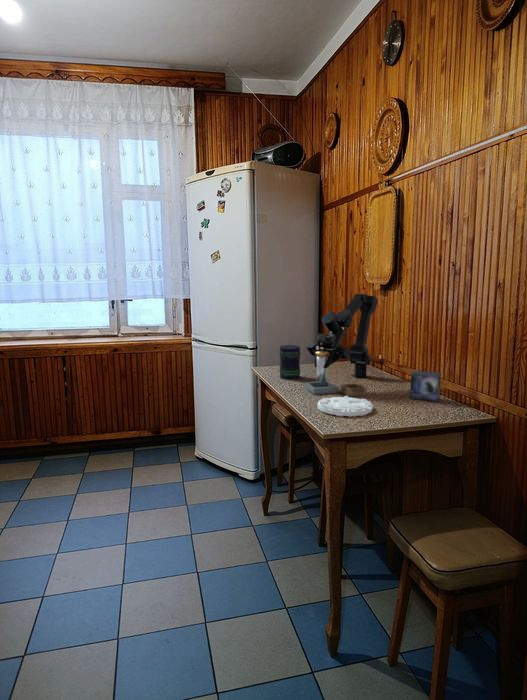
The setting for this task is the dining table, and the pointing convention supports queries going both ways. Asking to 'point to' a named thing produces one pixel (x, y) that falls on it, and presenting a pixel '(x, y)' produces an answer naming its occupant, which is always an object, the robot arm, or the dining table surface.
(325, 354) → the pin
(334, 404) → the giant coin
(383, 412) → the dining table surface
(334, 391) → the tray
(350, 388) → the socket block
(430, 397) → the small box
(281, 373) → the storage jar
